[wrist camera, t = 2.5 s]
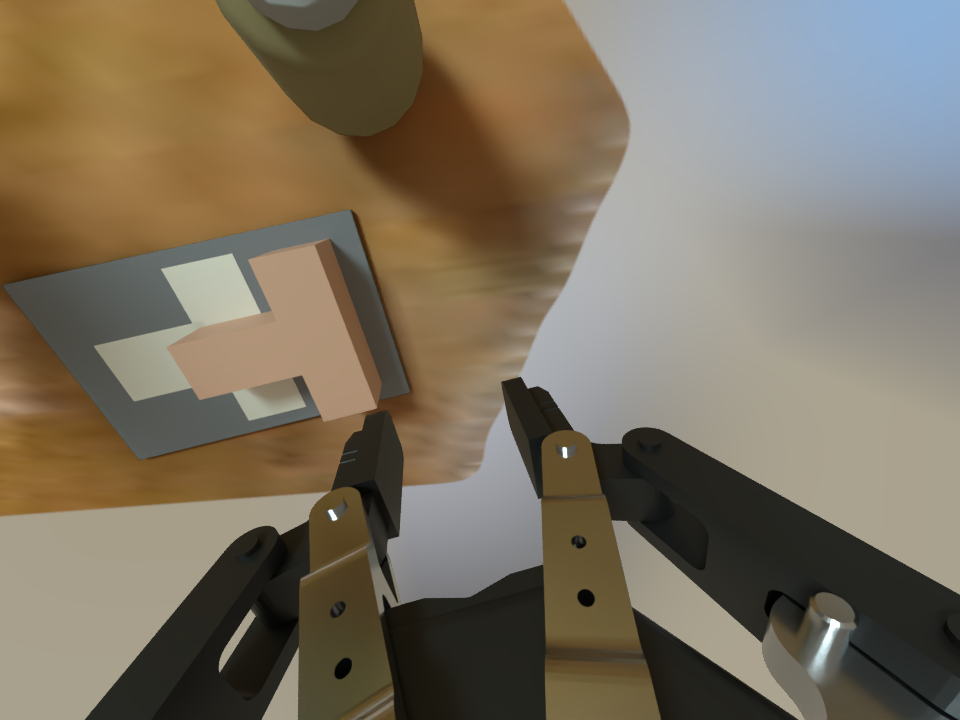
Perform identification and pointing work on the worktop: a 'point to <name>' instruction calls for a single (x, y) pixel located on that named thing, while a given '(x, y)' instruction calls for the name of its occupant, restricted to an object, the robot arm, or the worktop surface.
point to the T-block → (289, 337)
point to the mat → (178, 312)
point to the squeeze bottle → (337, 56)
